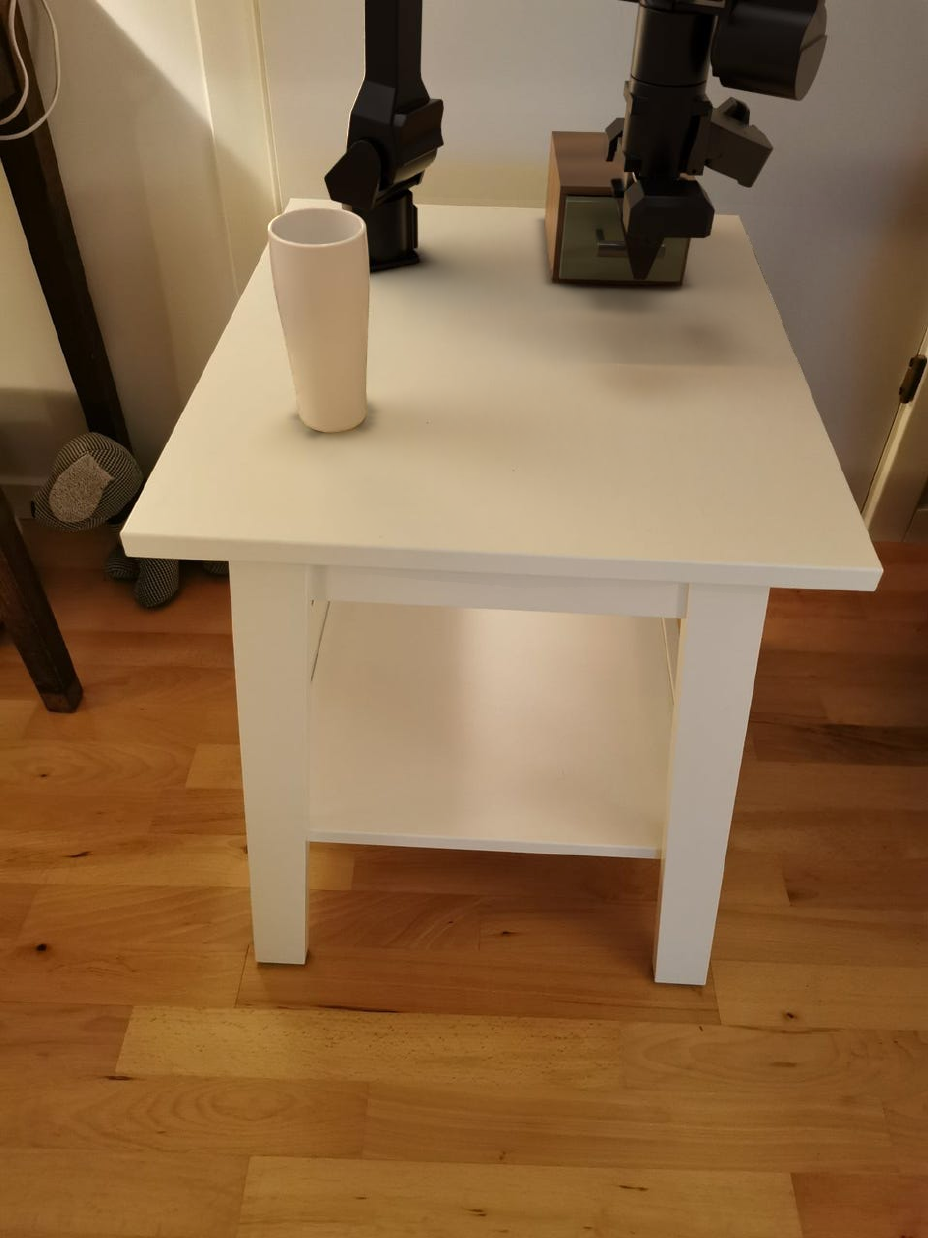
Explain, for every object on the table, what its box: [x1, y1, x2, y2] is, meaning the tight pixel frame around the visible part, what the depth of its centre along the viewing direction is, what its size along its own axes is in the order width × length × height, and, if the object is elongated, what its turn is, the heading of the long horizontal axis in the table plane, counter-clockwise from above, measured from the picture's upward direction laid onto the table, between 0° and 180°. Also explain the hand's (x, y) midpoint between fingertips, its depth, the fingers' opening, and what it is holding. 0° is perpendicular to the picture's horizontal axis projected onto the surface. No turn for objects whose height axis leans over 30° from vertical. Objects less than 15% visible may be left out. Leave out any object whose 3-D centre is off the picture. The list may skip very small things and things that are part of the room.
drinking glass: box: [267, 206, 371, 433], centre depth 71 cm, size 7×7×15 cm
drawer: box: [559, 195, 687, 282], centre depth 93 cm, size 18×11×7 cm, turn 179°
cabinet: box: [544, 130, 697, 286], centre depth 96 cm, size 15×13×9 cm
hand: (639, 277), depth 83 cm, fingers closed
